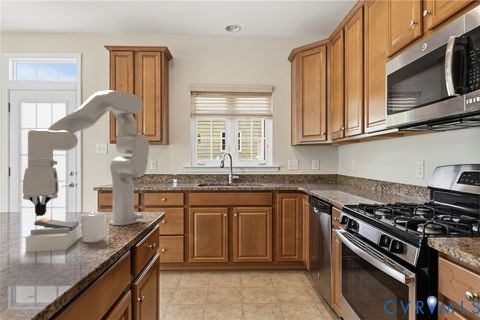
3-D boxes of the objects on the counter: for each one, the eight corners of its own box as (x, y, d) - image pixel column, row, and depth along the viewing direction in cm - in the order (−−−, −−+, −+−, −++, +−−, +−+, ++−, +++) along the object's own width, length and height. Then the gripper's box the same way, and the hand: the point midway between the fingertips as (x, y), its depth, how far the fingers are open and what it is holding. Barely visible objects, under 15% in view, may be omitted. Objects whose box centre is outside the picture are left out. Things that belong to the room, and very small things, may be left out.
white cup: (108, 238, 114) (108, 212, 114) (92, 243, 107) (92, 216, 107) (92, 236, 117) (92, 211, 117) (75, 241, 109) (75, 214, 109)
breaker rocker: (76, 226, 111) (77, 222, 111) (71, 230, 106) (72, 226, 106) (41, 221, 109) (42, 217, 109) (34, 225, 103) (34, 221, 103)
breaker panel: (82, 236, 117) (82, 219, 117) (66, 249, 100) (65, 230, 100) (48, 237, 115) (48, 221, 115) (25, 252, 97) (25, 232, 97)
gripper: (67, 163, 111) (67, 212, 111) (22, 164, 108) (22, 214, 108) (59, 164, 104) (59, 216, 104) (11, 164, 101) (11, 218, 101)
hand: (40, 215), depth 106 cm, fingers closed
